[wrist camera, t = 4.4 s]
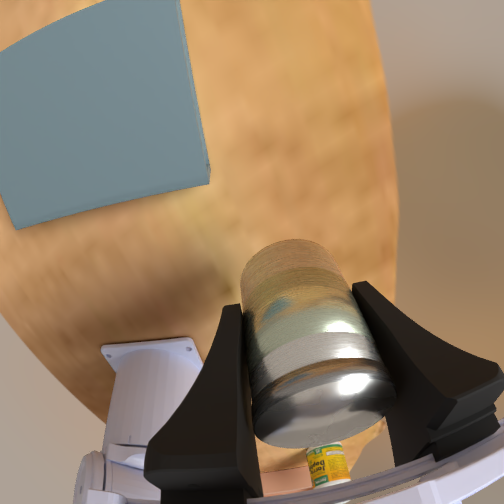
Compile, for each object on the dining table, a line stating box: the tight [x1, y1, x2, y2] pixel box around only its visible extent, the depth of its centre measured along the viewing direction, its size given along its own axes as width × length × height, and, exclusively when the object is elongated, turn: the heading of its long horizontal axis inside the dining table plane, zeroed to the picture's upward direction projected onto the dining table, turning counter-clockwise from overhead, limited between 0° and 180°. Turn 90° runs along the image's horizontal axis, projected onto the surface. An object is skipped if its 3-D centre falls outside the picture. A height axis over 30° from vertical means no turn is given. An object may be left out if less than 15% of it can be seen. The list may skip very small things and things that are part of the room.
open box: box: [260, 466, 313, 497], centre depth 47 cm, size 17×17×4 cm
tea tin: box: [240, 239, 397, 448], centre depth 12 cm, size 5×5×7 cm
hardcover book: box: [0, 0, 211, 230], centre depth 13 cm, size 10×12×2 cm
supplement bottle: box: [306, 442, 351, 504], centre depth 35 cm, size 5×5×10 cm
